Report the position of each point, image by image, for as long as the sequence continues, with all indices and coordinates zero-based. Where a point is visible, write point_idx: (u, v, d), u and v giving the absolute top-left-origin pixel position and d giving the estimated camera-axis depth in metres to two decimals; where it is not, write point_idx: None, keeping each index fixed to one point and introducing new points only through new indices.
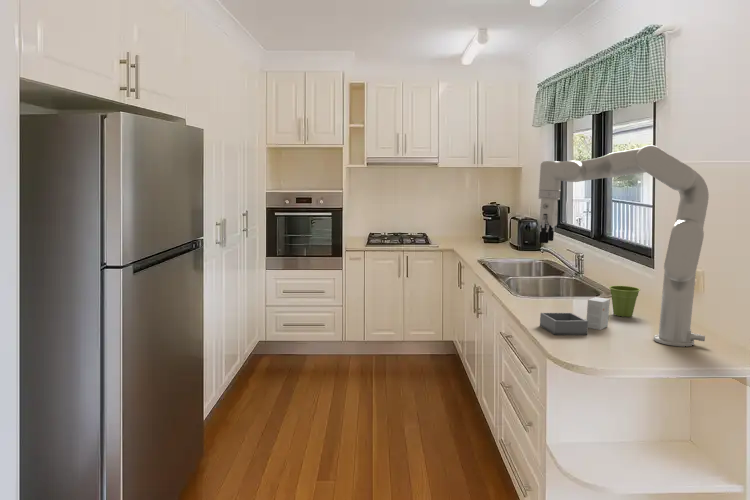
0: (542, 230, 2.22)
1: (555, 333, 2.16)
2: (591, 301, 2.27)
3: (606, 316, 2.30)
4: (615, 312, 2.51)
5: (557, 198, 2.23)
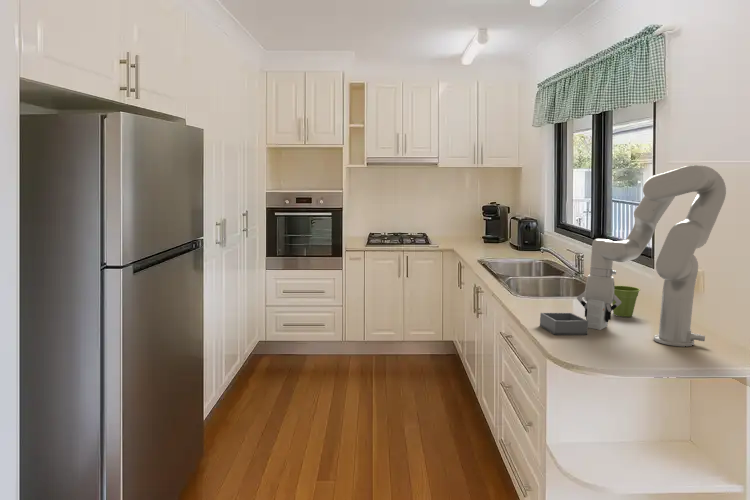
0: None
1: (555, 333, 2.16)
2: (591, 301, 2.27)
3: None
4: (615, 312, 2.51)
5: None
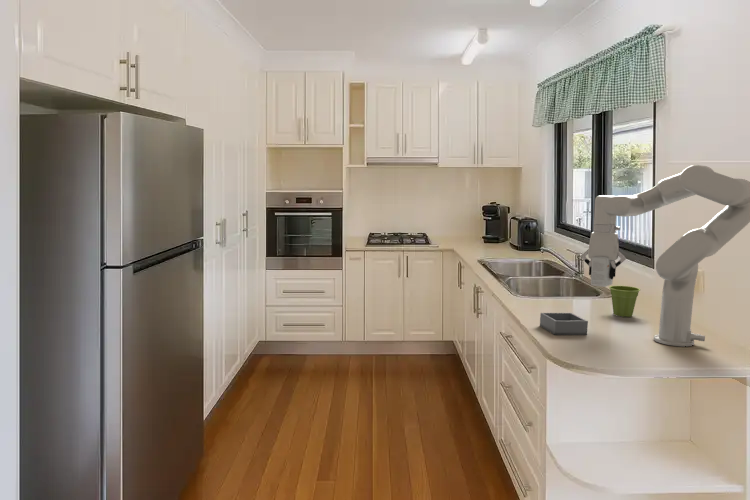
0: None
1: (555, 333, 2.16)
2: (595, 258, 2.25)
3: None
4: (615, 312, 2.51)
5: None
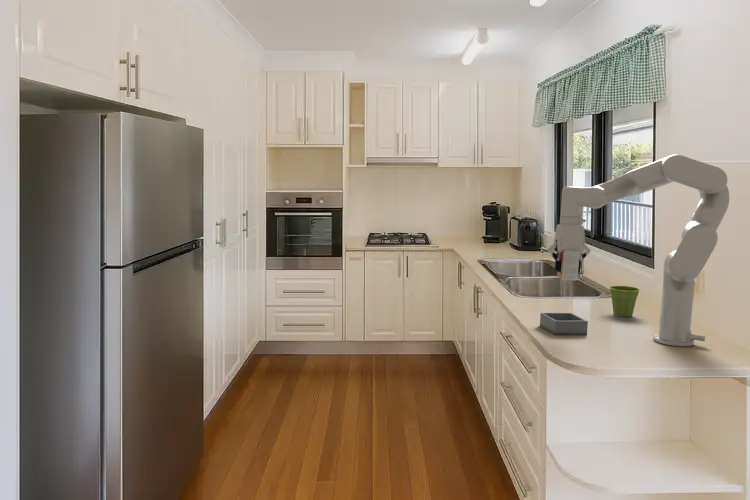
0: None
1: (555, 333, 2.16)
2: (567, 251, 2.17)
3: None
4: (615, 312, 2.51)
5: None
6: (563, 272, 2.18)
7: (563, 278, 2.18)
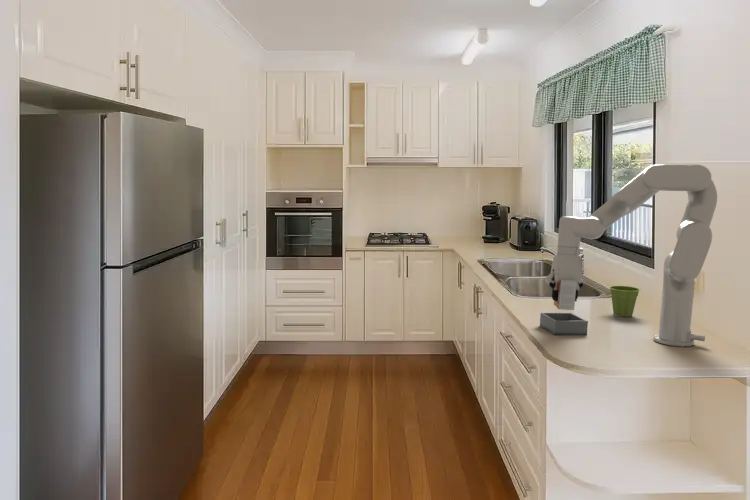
0: None
1: (555, 333, 2.16)
2: (564, 281, 2.18)
3: None
4: (615, 312, 2.51)
5: None
6: (560, 302, 2.19)
7: (560, 308, 2.19)
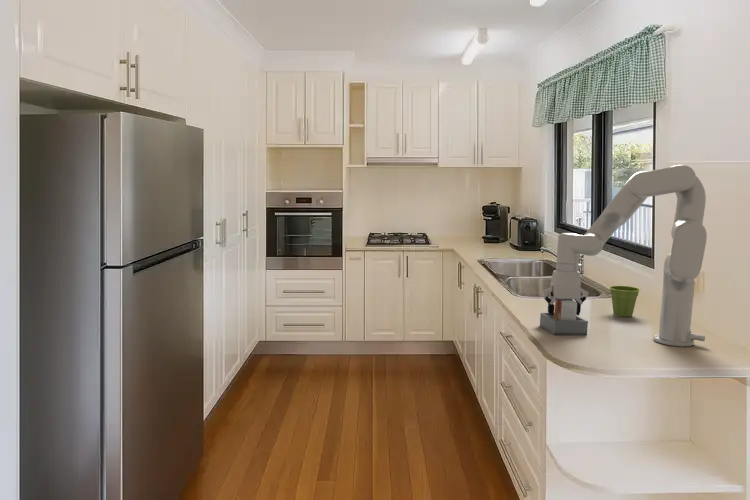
0: None
1: (555, 333, 2.16)
2: (565, 303, 2.18)
3: None
4: (615, 312, 2.51)
5: None
6: None
7: None
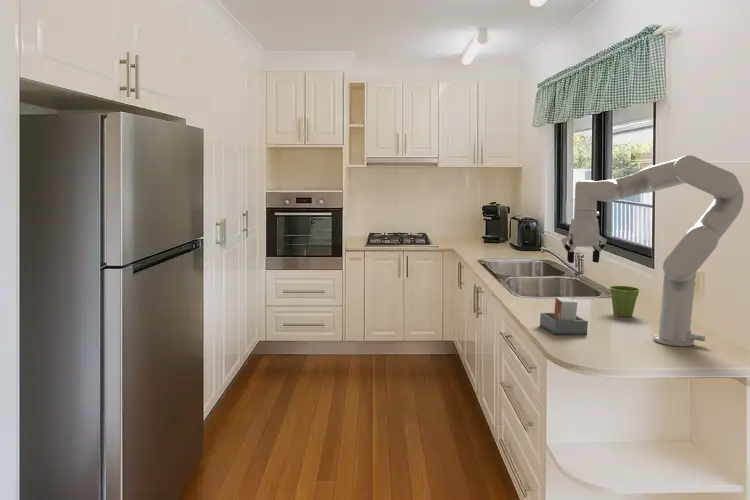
0: None
1: (555, 333, 2.16)
2: (565, 303, 2.18)
3: None
4: (615, 312, 2.51)
5: None
6: None
7: None
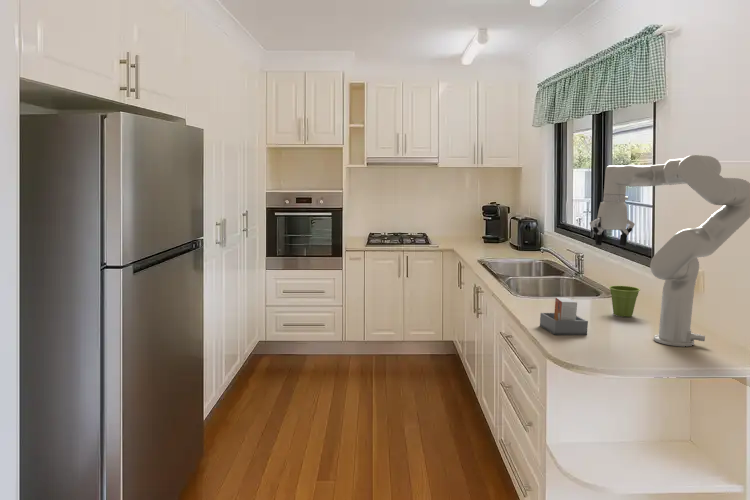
0: None
1: (555, 333, 2.16)
2: (565, 303, 2.18)
3: None
4: (615, 312, 2.51)
5: None
6: None
7: None
